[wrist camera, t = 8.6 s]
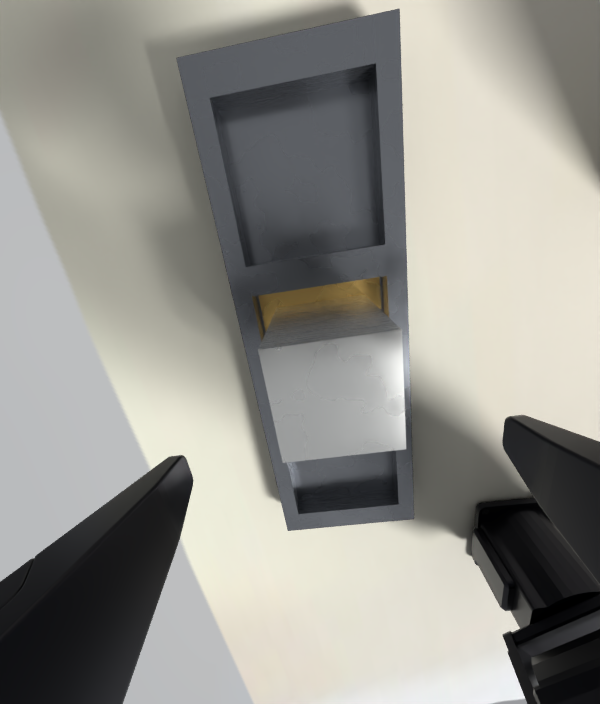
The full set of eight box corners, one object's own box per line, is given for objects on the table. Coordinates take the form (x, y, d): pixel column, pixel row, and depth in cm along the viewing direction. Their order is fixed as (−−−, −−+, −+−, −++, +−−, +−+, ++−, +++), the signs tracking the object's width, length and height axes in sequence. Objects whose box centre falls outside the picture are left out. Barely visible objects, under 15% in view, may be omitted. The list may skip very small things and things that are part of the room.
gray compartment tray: (386, 41, 13) (399, 8, 11) (405, 496, 23) (413, 518, 21) (194, 82, 14) (176, 57, 12) (289, 507, 23) (288, 530, 21)
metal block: (364, 294, 17) (402, 329, 10) (370, 374, 18) (406, 449, 12) (276, 307, 17) (257, 350, 10) (291, 385, 19) (282, 462, 12)
